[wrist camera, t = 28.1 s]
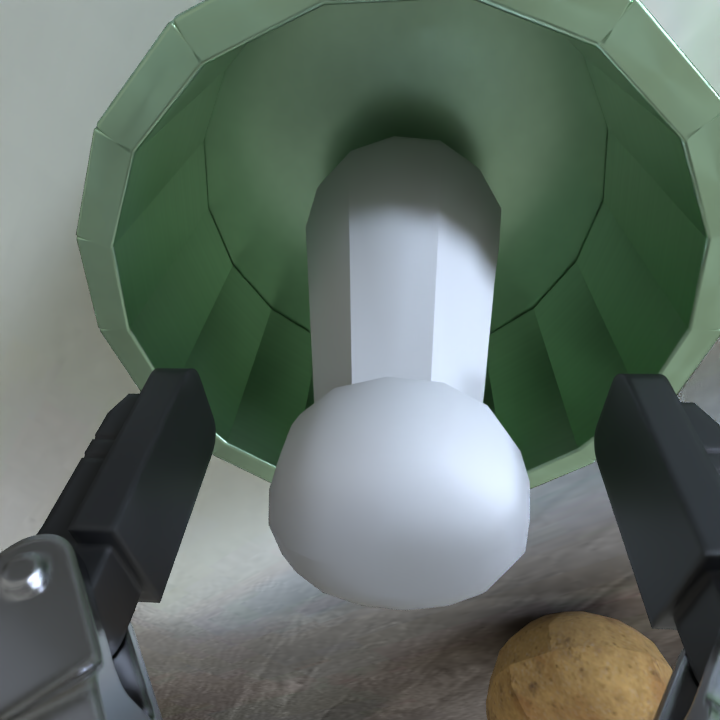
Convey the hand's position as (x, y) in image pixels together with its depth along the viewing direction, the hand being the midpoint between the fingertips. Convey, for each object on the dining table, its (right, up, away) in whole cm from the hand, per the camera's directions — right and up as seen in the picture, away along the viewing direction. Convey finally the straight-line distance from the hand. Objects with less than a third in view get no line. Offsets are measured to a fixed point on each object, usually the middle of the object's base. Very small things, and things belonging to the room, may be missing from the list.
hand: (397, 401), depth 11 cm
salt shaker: (+1, +6, +7) cm, 10 cm away
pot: (+1, +6, +8) cm, 10 cm away
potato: (+13, -18, +28) cm, 35 cm away
